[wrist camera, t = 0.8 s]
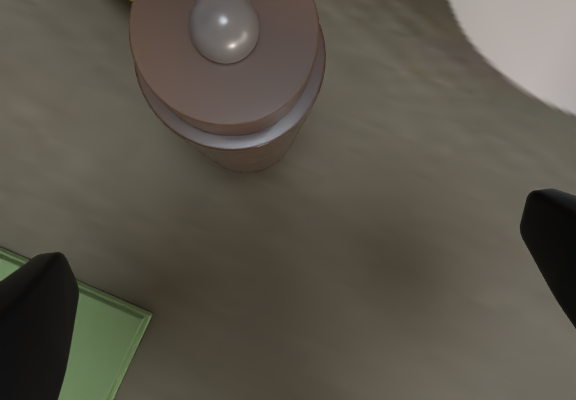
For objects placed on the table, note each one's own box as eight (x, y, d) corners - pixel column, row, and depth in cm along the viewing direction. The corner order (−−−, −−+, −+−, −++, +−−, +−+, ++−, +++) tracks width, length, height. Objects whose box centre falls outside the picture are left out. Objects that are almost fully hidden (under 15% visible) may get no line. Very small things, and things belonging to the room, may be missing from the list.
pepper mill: (257, 192, 23) (250, 186, 9) (175, 133, 23) (41, 37, 9) (315, 111, 23) (392, -13, 9) (234, 51, 23) (190, -165, 9)
